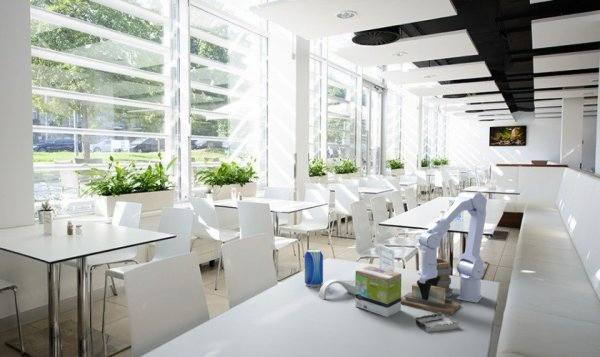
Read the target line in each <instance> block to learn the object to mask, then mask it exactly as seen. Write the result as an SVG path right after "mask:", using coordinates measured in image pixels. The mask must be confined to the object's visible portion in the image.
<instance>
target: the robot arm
mask: <svg viewBox="0 0 600 357" xmlns="http://www.w3.org/2000/svg"><path fill="white" fill-rule="evenodd" d="M487 201H488V199H487V198H486V196H485V195H484V194H483V193H481V192H470V191H465V190H463V191H461V192H459V194H458V195H456V197H455V201H454V202H453V204H452V206H451V207H450V208H449V209H448V211H446V213H445V214H444V216H443V217H439V218H437V219H434V223H432V225H431V226H429V228H428V229H426V231H425V232H422V233H421V234H420V236H419V237H418V239H417V240H418V243H419V245H420V250H421V266H420V268H421V271H419V272H418V273H417V274H418V275H419V279H418V280H417V281H416V283H417V285H418V286H419V289H420V292H421V296H422V299H424V300H428V298H429V291H430V288H431V286H435V287H437V284H438V282H439V280H440V276H437V275H438V270H437V258H438V257H437V253H438V247H440V245H441V241H442V239H443V237H444V236H445V235H446V233H447V232H448V231H449V230H450V229H451V223H452V222H453V221H454V220H456V219H457V217H458V216H459V215H460V214H461V213H463V211H467V212H468V214H470V220H469V226H468V232H467V237H466V245H465V250H464V253H462V254H460V255H459V259H458V262H457V263H456V271H457V272H458V273H459V276H460V284H459V287H460V288H459V289H460V290H459V291H460V292H459V295H458V296H456V299H457V300H461V301H466V302H469V303H470V302H471V303H476V304H477V303H479V301H481V299H482V298H483V297H484V295H483V294H482V295H481V291H482V290H481V289H482V288H481V286H482V284H481V283H482V282H481V278H483V276H484V273H485V268H484V267H485V266H484V260H483V259H482V258H481V256H480V253H481V248H482V241H483V235H484V229H485V222H486V217H487V208H486V207H487V203H488V202H487Z"/></svg>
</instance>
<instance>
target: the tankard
mask: <svg viewBox="0 0 600 357" xmlns="http://www.w3.org/2000/svg"><path fill="white" fill-rule="evenodd" d="M437 270H438V275H437V276H440V280H439V282H438V284H437V287H441V288H445V298H449V297H451V296H452V295H453V293H454V292H453V291H454V290H453V288H450V285H451V284H452V278H451V277H450V275H451V273H452V267H451V261H450V260H448V259H445V258H444V253H443V252H439V253H438V257H437Z"/></svg>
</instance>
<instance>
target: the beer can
mask: <svg viewBox="0 0 600 357" xmlns="http://www.w3.org/2000/svg"><path fill="white" fill-rule="evenodd" d="M323 282H324V254H323V253H322V250H321V249H318V248H310V249H307V250H306V252H305V254H304V283H305V285H306V286H307V287H309V286H310V287H309V288H319V287H322V285H323V284H324V283H323ZM318 286H319V287H318Z"/></svg>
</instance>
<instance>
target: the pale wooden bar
mask: <svg viewBox="0 0 600 357" xmlns="http://www.w3.org/2000/svg"><path fill="white" fill-rule="evenodd" d="M411 293H412V297H414V298H419V299H422V296H421V292H420V289H419V286H418V285H417V282H414V283H413V284H412V285H411ZM445 298H446V297H445V288H441V287H435V286H431V288H430V291H429V298H428V301H433V302H437V303H442V304H445ZM423 300H424V299H423Z"/></svg>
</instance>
